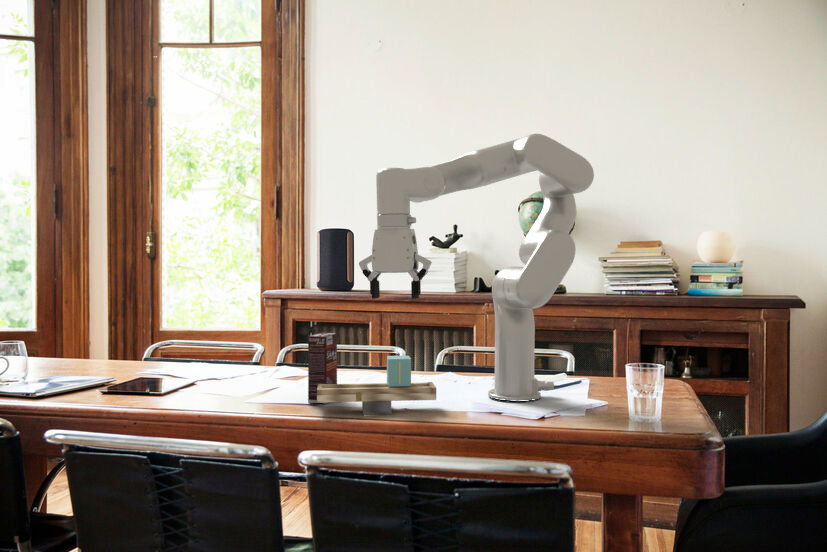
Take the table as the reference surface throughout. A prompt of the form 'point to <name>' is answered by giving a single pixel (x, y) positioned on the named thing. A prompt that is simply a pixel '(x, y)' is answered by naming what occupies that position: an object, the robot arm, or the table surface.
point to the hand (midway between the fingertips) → (395, 298)
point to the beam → (375, 395)
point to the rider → (398, 371)
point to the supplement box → (321, 362)
